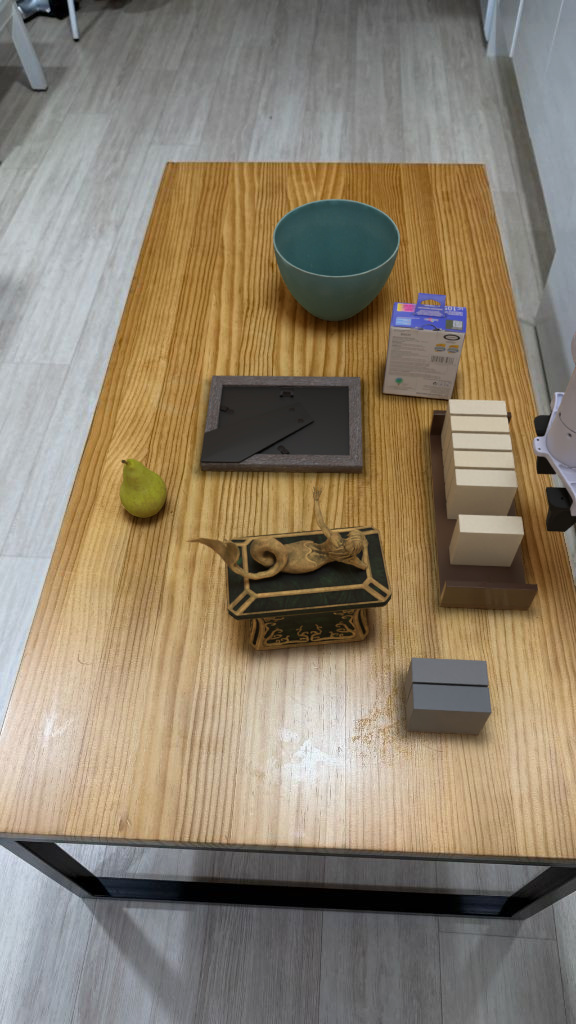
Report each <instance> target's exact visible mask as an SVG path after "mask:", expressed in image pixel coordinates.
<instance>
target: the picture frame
mask: <svg viewBox="0 0 576 1024" xmlns="http://www.w3.org/2000/svg"><path fill="white" fill-rule="evenodd" d="M361 391H362V389H361V376H310V375H309V376H308V375H307V376H304V375H303V376H302V375H299V376H298V375H292V376H291V375H211V383H210V391H209V396H208V397H209V398H208V405H207V413H206V419H205V420H206V421H205V428H204V433H203V440H202V446H201V448H202V449H201V454H200V460H199V462H200V467H201V472H252V473H253V472H255V473H256V472H257V473H258V472H259V473H261V472H263V473H318V474H319V473H321V474H322V473H325V474H326V473H327V474H363V466H364V464H363V431H362V424H363V423H362V392H361Z"/></svg>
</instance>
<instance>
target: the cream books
mask: <svg viewBox="0 0 576 1024" xmlns="http://www.w3.org/2000/svg"><path fill="white" fill-rule="evenodd" d="M446 410H447V411H446V415H445V420H444V424H443V429H442V433H441V442H442V449H443V451H442V455H443V466H444V480H445V483H446V484H445V493H446V501H447V503H446V506H447V519H458V515H487V516H507V514H508V511H509V509H510V506H511V503H512V501H513V498H514V499H515V497H516V493H517V490H518V488H519V486H518V479H517V472H516V466H515V458H514V453H513V446H512V438H511V434H510V423H509V424H508V418H507V412H508V411H507V405H506V400H495V399H494V400H493V399H491V400H489V399H488V400H487V399H457V398H456V399H454V398H453V399H452V398H451V399H449V400H448V402H447V406H446Z"/></svg>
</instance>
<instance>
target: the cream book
mask: <svg viewBox="0 0 576 1024" xmlns="http://www.w3.org/2000/svg"><path fill="white" fill-rule="evenodd" d="M524 535H525V531H524V524H523V518H522V516H517V515H516V516H487V515H458V519H457V522H456V526H455V529H454V533H453V536H452V539H451V543H450V546H449V553H450V564H452V565H479V566H505V567H510V566H511V563H512V561H513V559H514V556H515V554H516V552H517V549H518V547H519V545H520V546H521V542H522V540H523V537H524Z"/></svg>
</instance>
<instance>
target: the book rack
mask: <svg viewBox="0 0 576 1024" xmlns="http://www.w3.org/2000/svg"><path fill="white" fill-rule="evenodd" d="M446 411H447V409H446V410H445V409H444V410H443V409H433V410H432V415H431V420H430V425H429V429H428V430H429V431H428V444H429V446H428V448H429V460H430V461H429V463H430V477H431V492H432V505H433V507H432V508H433V522H434V523H433V524H434V537H435V553H436V567H437V568H436V569H437V582H438V583H437V585H438V598H439V607H440V608H459V609H485V610H486V609H487V610H508V611H509V610H510V611H529V609H530V607H531V605H532V603H533V601H534V599H535V597H536V596H537V594H538V591H539V586H538V584H537V583H527V581H526V573H525V568H524V567H525V566H524V561H523V560H524V559H523V552H522V547H521V544H520V545H519V547H518V549H517V552H516V554H515V556H514V559H513V561H512V563H511V566H510V567H505V566H479V565H452V564H450V553H449V546H450V543H451V539H452V536H453V533H454V529H455V526H456V522H457V519H447V506H446V503H447V501H446V493H445V484H446V483H445V480H444V466H443V455H442V451H443V449H442V442H441V433H442V429H443V424H444V420H445V415H446ZM512 417H513V416H512V412H511V411H507V418H508V424H509V425H510V424H511V421H512ZM507 516H516V517H517V512H516V506H515V497H514V498H513V501H512V503H511V506H510V509H509V511H508V514H507Z"/></svg>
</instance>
